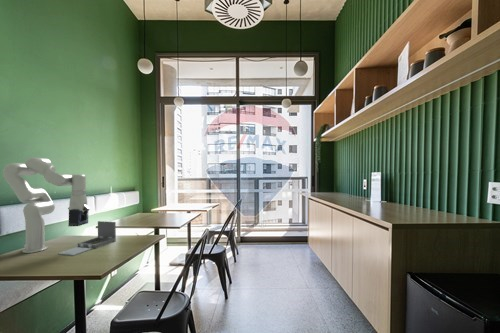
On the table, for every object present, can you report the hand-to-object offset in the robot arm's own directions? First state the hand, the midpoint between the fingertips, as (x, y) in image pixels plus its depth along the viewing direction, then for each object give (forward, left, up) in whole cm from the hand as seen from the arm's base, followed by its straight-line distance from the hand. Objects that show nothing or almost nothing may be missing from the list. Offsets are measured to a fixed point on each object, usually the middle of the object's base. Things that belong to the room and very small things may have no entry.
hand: (78, 220), depth 161 cm
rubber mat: (0, -3, -19) cm, 20 cm away
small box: (0, 0, -3) cm, 3 cm away
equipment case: (0, +13, -19) cm, 23 cm away
